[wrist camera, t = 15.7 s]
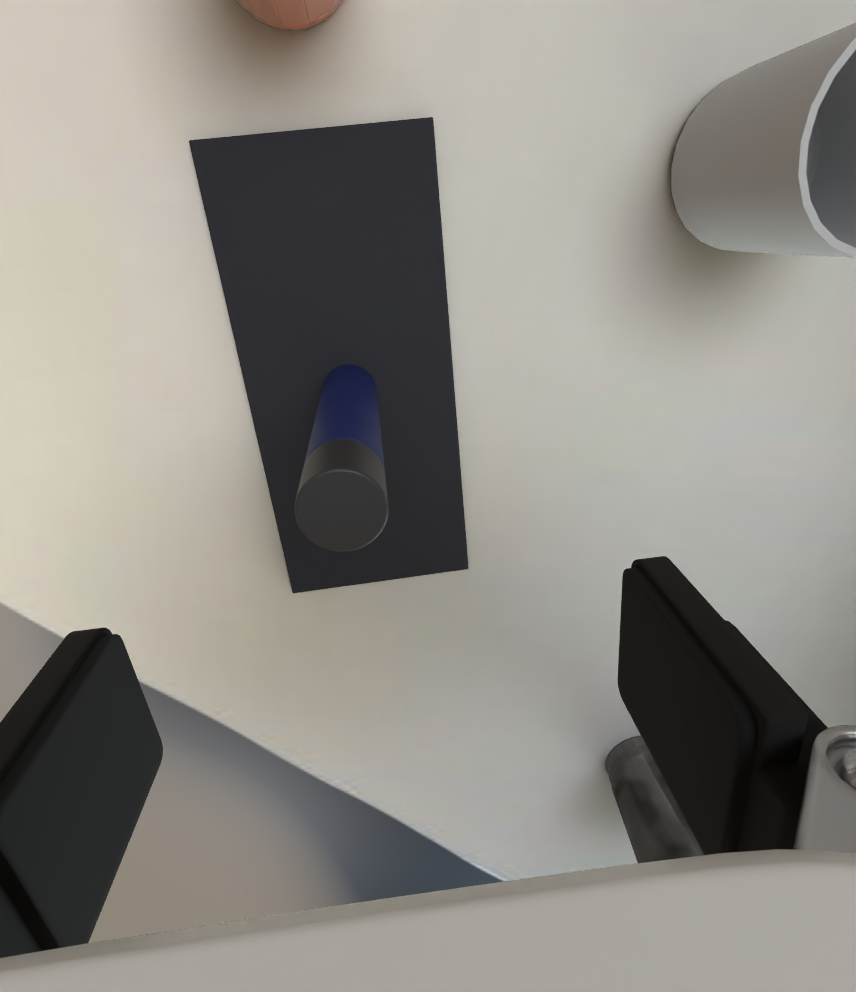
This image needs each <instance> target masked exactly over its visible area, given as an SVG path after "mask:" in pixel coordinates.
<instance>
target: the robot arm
mask: <svg viewBox="0 0 856 992" xmlns="http://www.w3.org/2000/svg"><path fill="white" fill-rule="evenodd" d="M618 687H619V692H620V695H621V698H622V700H623V702H624V704H625V706H626V708H627V710H628V711H629V713H630V715H631V717H632V719H633V721H634V723H635V725H636V727H637V728H638V730H639V732H640V734H641V736H642V738H643V740H644V742H645V744H646V745H647V747H648V749H649V751H650V753H651V755H652V757H653V759H654V761H655V763H656V764H657V766H658V768H659V770H660V772H661V774H662V776H663V778H664V780H665V781H666V783H667V785H668V787H669V789H670V791H671V793H672V795H673V797H674V798H675V800H676V802H677V804H678V806H679V808H680V810H681V812H682V814H683V815H684V817H685V819H686V821H687V823H688V825H689V827H690V829H691V831H692V832H693V834H694V836H695V838H696V840H697V842H698V844H699V846H700V848H701V849H702V851H703V853H704V855H703V856H695V857H686V858H678V859H670V860H662V861H654V862H645V863H637V864H629V865H621V866H613V867H606V868H599V869H592V870H585V871H577V872H570V873H563V874H556V875H549V876H542V877H535V878H527V879H520V880H513V881H506V882H499V883H492V884H485V885H477V886H470V887H463V888H456V889H450V890H442V891H436V892H429V893H422V894H415V895H408V896H401V897H394V898H387V899H380V900H373V901H366V902H360V903H353V904H346V905H339V906H332V907H326V908H319V909H312V910H305V911H298V912H292V913H285V914H278V915H271V916H264V917H257V918H251V919H244V920H238V921H231V922H225V923H218V924H212V925H205V926H199V927H192V928H185V929H179V930H172V931H165V932H159V933H152V934H146V935H139V936H132V937H126V938H119V939H113V940H106V941H99V942H93V943H88V942H89V939H90V937H91V935H92V932H93V930H94V927H95V925H96V922H97V920H98V917H99V915H100V912H101V910H102V907H103V905H104V902H105V900H106V898H107V895H108V892H109V890H110V888H111V885H112V883H113V880H114V877H115V875H116V872H117V870H118V868H119V865H120V863H121V860H122V858H123V855H124V853H125V850H126V848H127V845H128V843H129V841H130V838H131V836H132V833H133V831H134V828H135V826H136V823H137V821H138V818H139V816H140V813H141V811H142V808H143V806H144V803H145V800H146V798H147V796H148V793H149V791H150V788H151V786H152V783H153V781H154V779H155V776H156V774H157V771H158V769H159V766H160V764H161V760H162V753H163V747H162V742H161V738H160V736H159V733H158V731H157V728H156V725H155V723H154V720H153V718H152V715H151V712H150V710H149V707H148V705H147V702H146V700H145V697H144V694H143V692H142V690H141V687H140V684H139V681H138V679H137V676H136V674H135V671H134V668H133V666H132V663H131V661H130V658H129V656H128V653H127V650H126V648H125V645H124V643H123V640H122V638H121V637H120V636H119V635H117V634H113V635H112V633H111V631H110V630H109V629H107V628H97V629H89V630H82V631H74V632H71V633H69V634H68V635H67V636H66V637H65V639H64V640H63V641H62V643H61V644H60V645H59V646H58V648H57V649H56V651H55V652H54V653H53V654H52V656H51V657H50V658H49V660H48V661H47V662H46V663H45V665H44V666H43V667H42V669H41V670H40V671H39V673H38V674H37V675H36V677H35V678H34V679H33V680H32V682H31V683H30V684H29V686H28V687H27V689H26V690H25V691H24V693H23V694H22V695H21V696H20V698H19V699H18V700H17V701H16V703H15V704H14V705H13V707H12V708H11V709H10V711H9V712H8V713H7V715H6V716H5V717H4V718H3V720H2V721H1V722H0V992H856V726H848V725H840V726H836V727H831V728H827V727H826V726H825V724H824V723H823V722H822V721H821V720H820V719H819V718H818V717H817V716H816V715H815V713H814V712H813V711H812V710H811V709H810V708H809V707H808V706H807V705H806V704H805V703H804V701H803V700H802V699H801V698H800V697H799V696H798V695H797V694H796V693H795V692H794V690H793V689H792V688H791V687H790V686H789V685H788V684H787V683H786V682H785V681H784V680H783V678H782V677H781V676H780V675H779V674H778V673H777V672H776V671H775V670H774V669H773V667H772V666H771V665H770V664H769V663H768V662H767V661H766V660H765V659H764V658H763V657H762V655H761V654H760V653H759V652H758V651H757V650H756V649H755V648H754V647H753V646H752V644H751V643H750V642H749V641H748V640H747V639H746V638H745V637H744V636H743V635H742V634H741V632H740V631H739V630H738V629H737V628H736V627H735V626H734V625H733V624H731V623H730V622H729V621H725V620H724V619H723V618H722V617H721V616H720V615H719V614H718V613H717V612H716V610H715V609H714V608H713V607H712V606H711V605H710V604H709V603H708V602H707V600H706V599H705V598H704V597H703V596H702V595H701V594H700V593H699V592H698V590H697V589H696V588H695V587H694V586H693V585H692V584H691V583H690V582H689V580H688V579H687V578H686V577H685V576H684V575H683V574H682V573H681V572H680V570H679V569H678V568H677V567H676V566H675V565H674V564H673V563H672V562H671V560H670V559H668V558H667V557H665V556H662V557H654V558H646V559H638V560H635V561H633V563H632V566H631V568H629V569H625V570H624V572H623V581H622V601H621V622H620V643H619V663H618Z"/></svg>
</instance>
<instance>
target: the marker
mask: <svg viewBox="0 0 856 992" xmlns="http://www.w3.org/2000/svg"><path fill="white" fill-rule="evenodd" d="M388 511H389V509H388V497H387V488H386V478H385V468H384V458H383V449H382V439H381V429H380V419H379V410H378V400H377V390H376V384H375V382H374V380H373V378H372V376H371V375H370V374H369V373H368V372H367V371H366V370H365V369H363V368H361V367H359V366H356V365H342V366H339V367H337V368H335V369H333V370H332V371H331V372H330V373H329V374H328V375H327V377H326V378H325V380H324V383H323V387H322V392H321V396H320V400H319V404H318V408H317V413H316V417H315V421H314V425H313V429H312V433H311V438H310V442H309V446H308V450H307V454H306V459H305V463H304V467H303V471H302V475H301V479H300V484H299V488H298V492H297V496H296V500H295V517H296V521H297V523H298V526H299V528H300V529H301V531H302V532H303V533H304V535H305V536H306V537H307V538H308V539H309V540H310V541H312V542H313V543H314V544H316V545H318V546H320V547H322V548H325V549H328V550H331V551H341V552H344V551H352V550H356V549H359V548H362V547H364V546H366V545H368V544H369V543H371V542H372V541H373V540H374V539H376V538H377V537H378V535H379V534H380V533H381V532H382V530H383V528H384V527H385V524H386V522H387V518H388Z"/></svg>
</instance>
